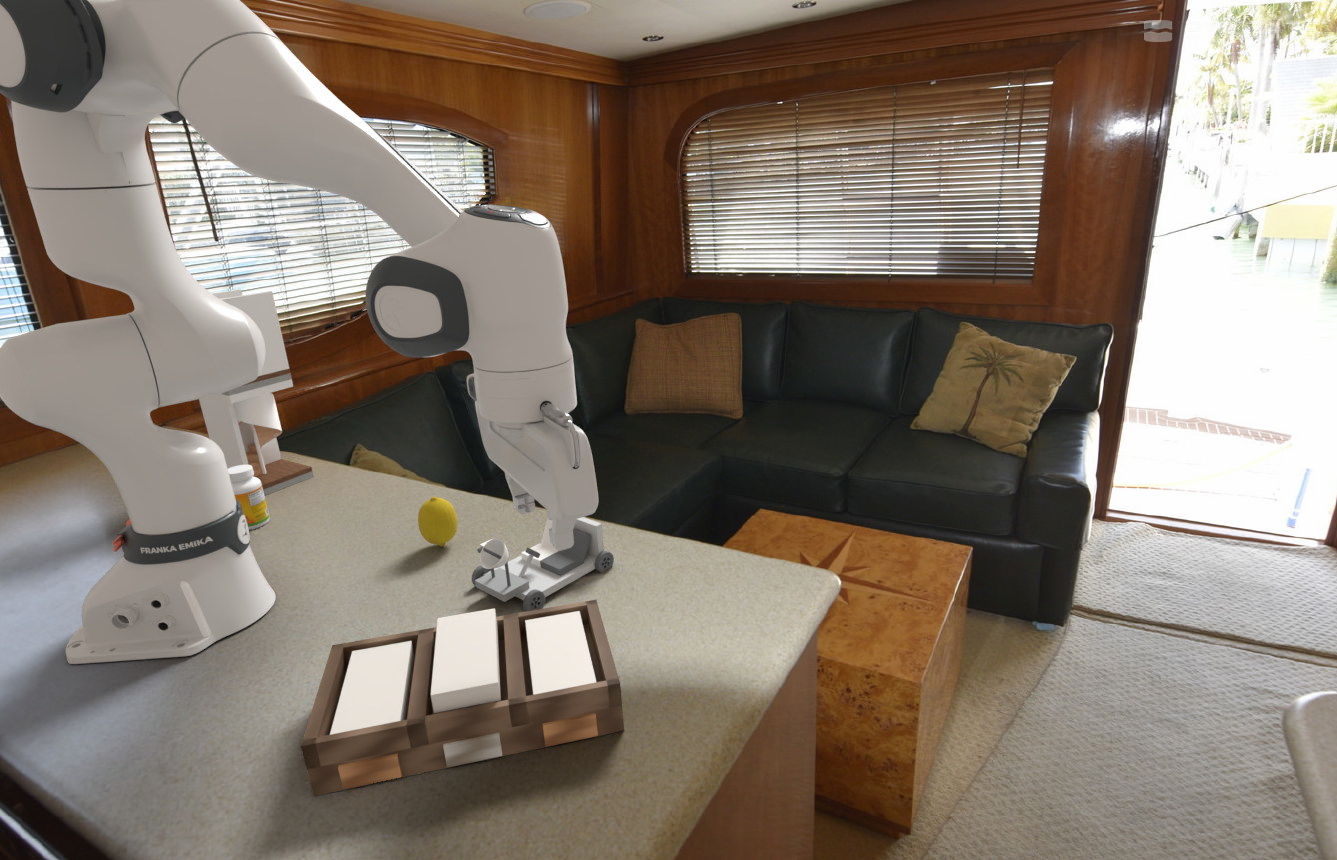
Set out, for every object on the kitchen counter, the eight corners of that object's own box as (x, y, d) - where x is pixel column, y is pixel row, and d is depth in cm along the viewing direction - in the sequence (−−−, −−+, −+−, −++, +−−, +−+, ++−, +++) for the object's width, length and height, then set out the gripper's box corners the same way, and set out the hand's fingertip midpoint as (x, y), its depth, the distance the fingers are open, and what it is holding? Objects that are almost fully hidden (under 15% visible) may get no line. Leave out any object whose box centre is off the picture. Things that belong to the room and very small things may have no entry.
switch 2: (434, 713, 68) (430, 695, 68) (440, 634, 80) (437, 618, 80) (500, 700, 70) (498, 682, 69) (497, 624, 82) (494, 608, 81)
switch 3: (535, 712, 71) (533, 695, 70) (527, 636, 83) (525, 620, 82) (598, 700, 72) (596, 682, 71) (581, 626, 84) (579, 610, 83)
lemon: (450, 555, 108) (442, 505, 106) (415, 554, 110) (406, 504, 107) (467, 538, 114) (459, 489, 111) (434, 536, 115) (426, 488, 112)
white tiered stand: (255, 499, 133) (205, 302, 121) (223, 489, 138) (172, 299, 127) (313, 476, 142) (272, 291, 130) (281, 468, 147) (238, 289, 136)
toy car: (501, 556, 88) (444, 531, 95) (511, 628, 91) (456, 598, 98) (609, 503, 100) (552, 484, 108) (614, 568, 103) (559, 545, 111)
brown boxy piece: (312, 798, 66) (299, 749, 65) (342, 688, 81) (332, 645, 79) (624, 732, 72) (620, 685, 70) (600, 640, 87) (596, 599, 85)
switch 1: (334, 753, 67) (329, 735, 66) (355, 667, 79) (352, 651, 78) (403, 739, 68) (400, 721, 68) (414, 656, 80) (411, 640, 80)
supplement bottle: (226, 529, 121) (211, 473, 118) (254, 515, 126) (240, 461, 123) (249, 533, 119) (235, 477, 116) (277, 519, 124) (264, 464, 121)
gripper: (610, 411, 61) (621, 561, 66) (520, 364, 78) (534, 486, 82) (537, 427, 58) (554, 583, 63) (460, 375, 75) (478, 501, 79)
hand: (542, 527), depth 73 cm, fingers open, 8 cm apart
